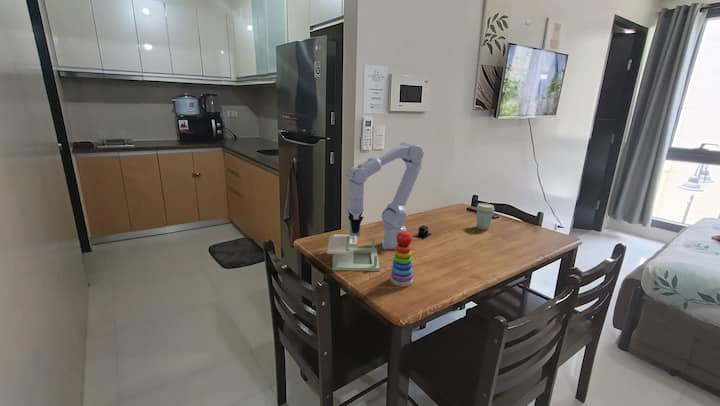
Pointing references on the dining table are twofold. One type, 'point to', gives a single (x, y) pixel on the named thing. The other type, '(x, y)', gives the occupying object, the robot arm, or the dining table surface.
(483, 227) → the coffee cup
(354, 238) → the dish
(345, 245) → the cover
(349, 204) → the robot arm
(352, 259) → the puzzle board
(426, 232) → the black box
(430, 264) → the dining table surface
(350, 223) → the block
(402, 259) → the stacking toy
